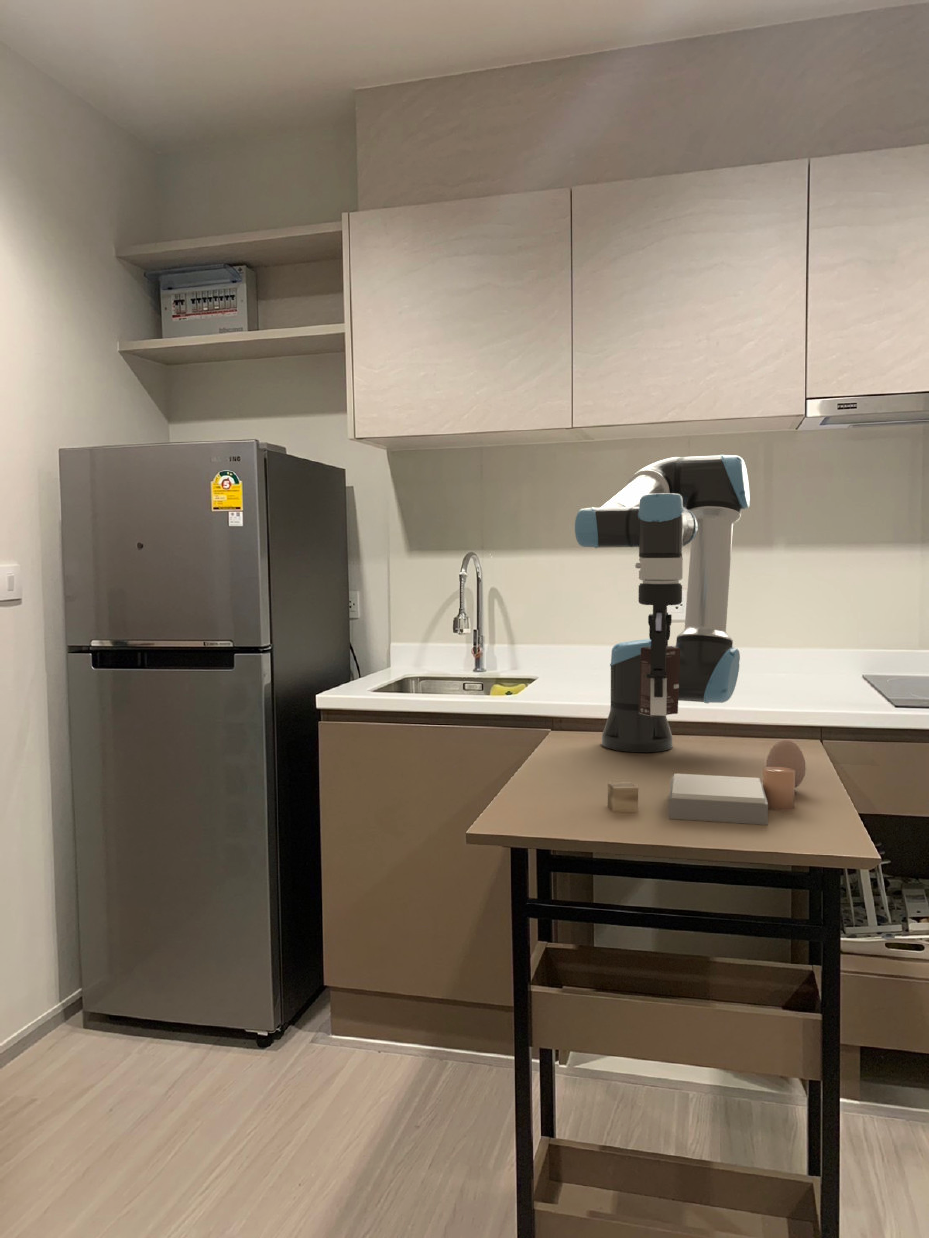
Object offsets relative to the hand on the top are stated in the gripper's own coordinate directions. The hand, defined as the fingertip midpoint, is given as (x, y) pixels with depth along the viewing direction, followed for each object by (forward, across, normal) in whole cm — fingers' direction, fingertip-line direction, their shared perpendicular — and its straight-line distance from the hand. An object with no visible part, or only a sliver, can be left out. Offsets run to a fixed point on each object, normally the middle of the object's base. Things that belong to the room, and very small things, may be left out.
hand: (659, 710), depth 171 cm
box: (+1, 0, 0) cm, 1 cm away
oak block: (+14, +16, -5) cm, 22 cm away
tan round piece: (+14, +8, +20) cm, 25 cm away
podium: (+14, +13, +10) cm, 21 cm away
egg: (+14, -3, +22) cm, 26 cm away
